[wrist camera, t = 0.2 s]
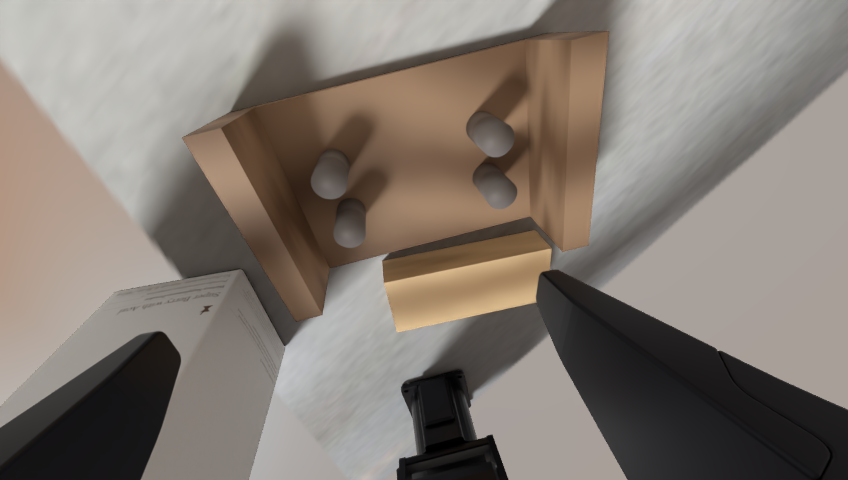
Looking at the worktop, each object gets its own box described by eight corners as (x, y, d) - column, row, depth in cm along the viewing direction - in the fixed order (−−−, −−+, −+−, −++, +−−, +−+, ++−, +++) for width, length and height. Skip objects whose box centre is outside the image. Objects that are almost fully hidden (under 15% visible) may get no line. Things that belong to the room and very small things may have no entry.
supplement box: (244, 264, 23) (92, 545, 10) (288, 347, 27) (221, 607, 15) (109, 288, 22) (-232, 619, 9) (178, 369, 27) (13, 658, 14)
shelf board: (530, 276, 28) (546, 300, 25) (394, 305, 27) (397, 332, 25) (533, 227, 25) (551, 248, 23) (382, 258, 25) (384, 283, 22)
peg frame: (546, 206, 24) (588, 245, 19) (309, 267, 24) (295, 321, 19) (547, 32, 18) (609, 30, 13) (229, 112, 18) (181, 137, 13)
